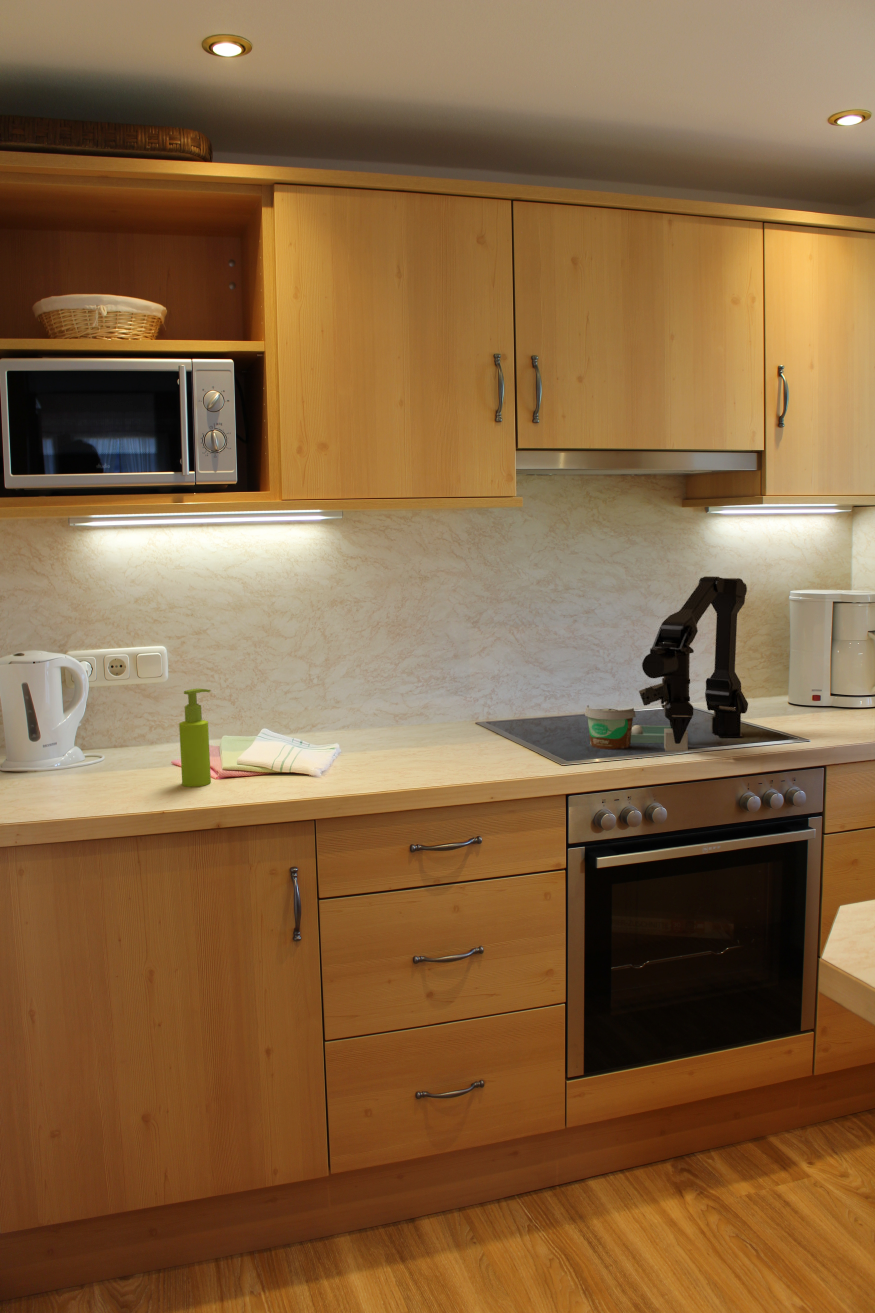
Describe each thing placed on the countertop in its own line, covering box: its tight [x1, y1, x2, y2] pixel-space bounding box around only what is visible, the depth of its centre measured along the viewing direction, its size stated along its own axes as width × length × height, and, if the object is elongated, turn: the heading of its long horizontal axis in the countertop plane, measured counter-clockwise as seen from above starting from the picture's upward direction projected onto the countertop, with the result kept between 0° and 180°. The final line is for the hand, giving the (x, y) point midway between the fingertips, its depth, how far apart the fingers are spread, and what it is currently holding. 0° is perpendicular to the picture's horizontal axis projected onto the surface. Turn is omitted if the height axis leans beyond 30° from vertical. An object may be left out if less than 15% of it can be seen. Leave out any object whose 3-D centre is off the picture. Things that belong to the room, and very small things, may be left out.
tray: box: [630, 725, 671, 744], centre depth 232 cm, size 13×12×2 cm
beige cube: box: [663, 729, 689, 752], centre depth 219 cm, size 5×5×5 cm
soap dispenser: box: [178, 688, 212, 788], centre depth 196 cm, size 6×7×20 cm
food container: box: [584, 705, 637, 750], centre depth 222 cm, size 12×6×10 cm, turn 62°
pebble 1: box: [631, 724, 643, 732], centre depth 234 cm, size 3×3×3 cm
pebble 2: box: [632, 728, 643, 735], centre depth 230 cm, size 3×3×3 cm
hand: (675, 739), depth 219 cm, fingers open, 9 cm apart
